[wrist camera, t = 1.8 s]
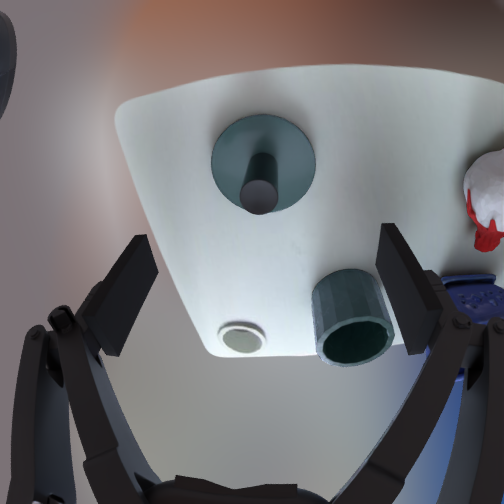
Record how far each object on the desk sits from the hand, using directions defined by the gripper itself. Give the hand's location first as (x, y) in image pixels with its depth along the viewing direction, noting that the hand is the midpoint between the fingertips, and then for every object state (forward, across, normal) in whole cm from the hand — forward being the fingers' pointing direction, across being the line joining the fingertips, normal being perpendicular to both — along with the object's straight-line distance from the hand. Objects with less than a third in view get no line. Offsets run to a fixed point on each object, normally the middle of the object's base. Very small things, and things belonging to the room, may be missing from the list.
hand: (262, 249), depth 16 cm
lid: (+16, -1, 0) cm, 16 cm away
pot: (+17, +9, -19) cm, 27 cm away
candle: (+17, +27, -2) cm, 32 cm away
